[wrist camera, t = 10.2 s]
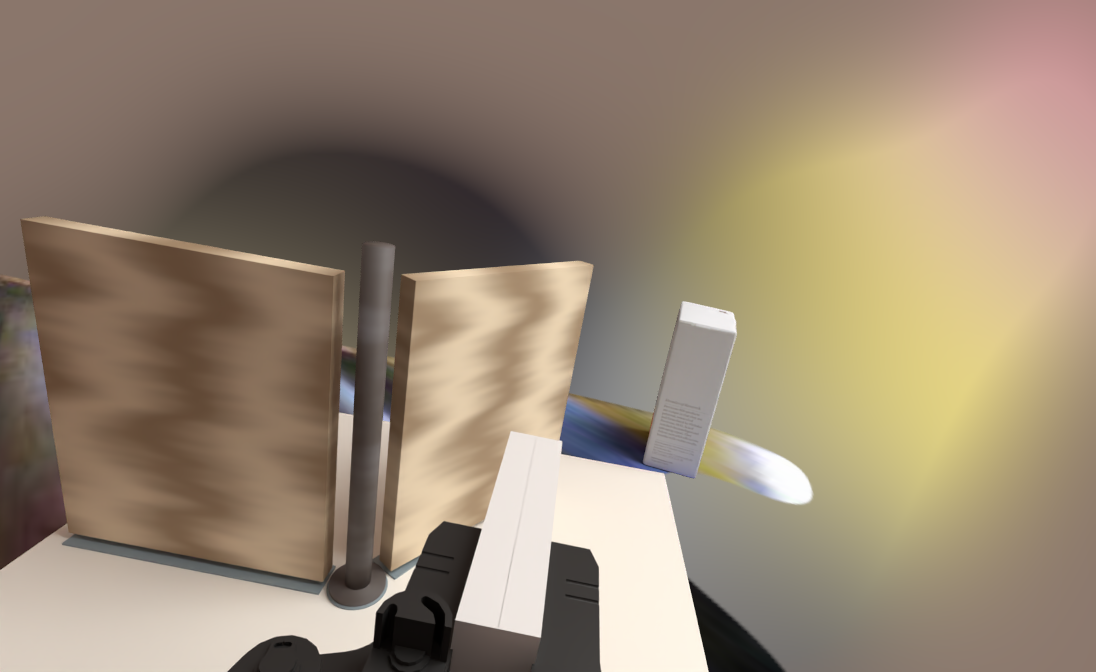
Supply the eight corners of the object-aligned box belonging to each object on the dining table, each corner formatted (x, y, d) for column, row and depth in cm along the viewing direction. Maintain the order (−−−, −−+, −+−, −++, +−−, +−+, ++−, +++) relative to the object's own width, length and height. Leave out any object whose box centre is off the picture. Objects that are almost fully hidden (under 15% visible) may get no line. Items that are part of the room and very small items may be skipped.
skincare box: (648, 430, 47) (681, 299, 43) (697, 444, 46) (736, 311, 42) (640, 465, 42) (677, 318, 38) (696, 481, 41) (740, 332, 37)
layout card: (-134, 668, 20) (-136, 662, 19) (249, 398, 41) (249, 394, 41) (745, 846, 19) (747, 841, 19) (663, 475, 41) (664, 472, 40)
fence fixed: (54, 554, 25) (-8, 183, 20) (102, 519, 28) (58, 180, 22) (373, 616, 25) (400, 257, 19) (393, 575, 27) (422, 245, 22)
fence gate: (390, 571, 27) (416, 281, 22) (379, 559, 28) (401, 274, 23) (550, 482, 36) (593, 265, 31) (539, 475, 37) (580, 260, 32)
